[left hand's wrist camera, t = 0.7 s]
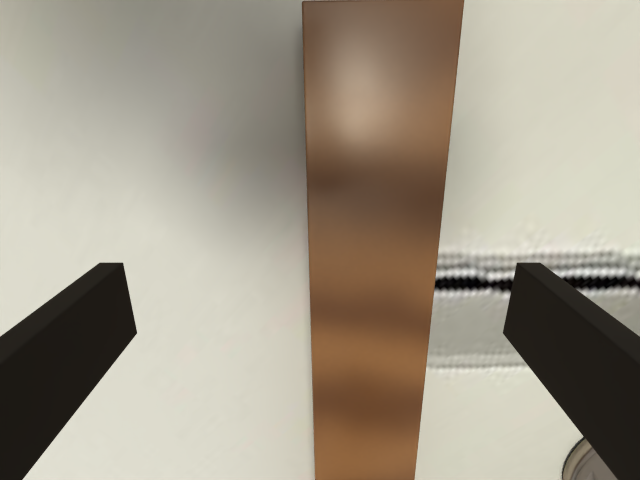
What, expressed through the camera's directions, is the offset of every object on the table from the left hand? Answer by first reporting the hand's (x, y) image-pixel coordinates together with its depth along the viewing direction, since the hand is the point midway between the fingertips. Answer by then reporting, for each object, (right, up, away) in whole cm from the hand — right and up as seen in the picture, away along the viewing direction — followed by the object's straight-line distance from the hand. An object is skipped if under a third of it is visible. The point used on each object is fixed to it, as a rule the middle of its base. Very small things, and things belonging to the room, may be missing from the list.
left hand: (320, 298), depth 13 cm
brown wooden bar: (+4, -18, +27) cm, 32 cm away
